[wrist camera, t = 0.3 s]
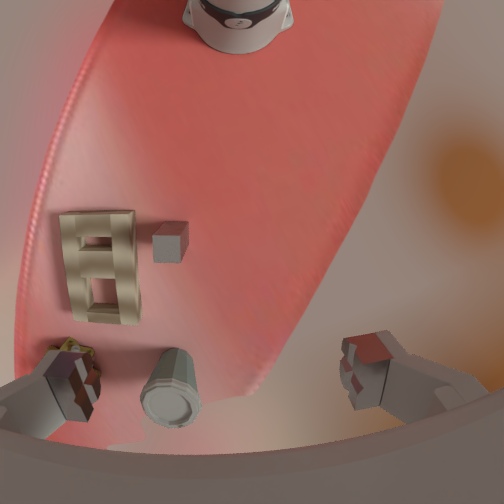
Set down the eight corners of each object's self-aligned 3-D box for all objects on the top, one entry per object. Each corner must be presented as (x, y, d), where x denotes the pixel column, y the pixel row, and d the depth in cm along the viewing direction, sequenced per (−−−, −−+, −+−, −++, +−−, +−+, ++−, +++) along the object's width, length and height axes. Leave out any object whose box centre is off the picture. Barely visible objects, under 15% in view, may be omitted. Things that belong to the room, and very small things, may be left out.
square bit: (165, 221, 54) (152, 235, 45) (188, 221, 54) (180, 235, 45) (166, 244, 55) (153, 262, 46) (188, 244, 56) (180, 262, 46)
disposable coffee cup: (144, 345, 61) (125, 393, 46) (192, 331, 60) (183, 380, 46) (167, 384, 64) (156, 434, 50) (213, 372, 63) (211, 424, 49)
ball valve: (101, 378, 64) (107, 350, 60) (83, 410, 54) (87, 383, 51) (55, 353, 62) (57, 323, 59) (33, 381, 53) (32, 351, 49)
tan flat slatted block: (69, 211, 52) (59, 215, 48) (134, 209, 53) (128, 214, 49) (81, 311, 58) (73, 320, 54) (142, 315, 59) (137, 325, 55)
